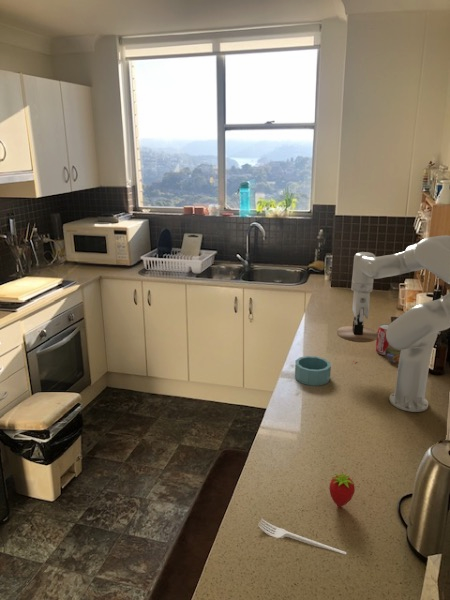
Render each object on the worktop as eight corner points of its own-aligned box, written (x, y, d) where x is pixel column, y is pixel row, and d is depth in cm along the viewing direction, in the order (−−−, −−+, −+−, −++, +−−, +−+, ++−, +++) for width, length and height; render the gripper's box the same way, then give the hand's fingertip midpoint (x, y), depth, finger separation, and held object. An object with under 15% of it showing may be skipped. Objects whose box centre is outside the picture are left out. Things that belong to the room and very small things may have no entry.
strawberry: (354, 499, 119) (358, 465, 116) (350, 520, 113) (354, 484, 110) (330, 493, 121) (333, 459, 118) (325, 513, 115) (328, 478, 112)
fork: (345, 562, 102) (346, 555, 102) (256, 532, 109) (257, 526, 109) (347, 551, 105) (348, 544, 105) (260, 522, 112) (261, 516, 112)
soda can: (393, 356, 202) (396, 330, 198) (376, 355, 203) (379, 328, 200) (391, 350, 208) (394, 324, 205) (374, 348, 210) (377, 323, 206)
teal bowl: (330, 386, 176) (332, 371, 174) (295, 384, 177) (296, 369, 175) (327, 371, 188) (328, 357, 186) (294, 369, 190) (295, 355, 188)
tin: (383, 361, 198) (386, 342, 195) (385, 358, 200) (387, 339, 198) (422, 369, 191) (425, 349, 188) (423, 366, 194) (426, 346, 191)
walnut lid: (380, 345, 174) (382, 330, 172) (338, 343, 176) (339, 327, 174) (374, 330, 188) (375, 316, 186) (335, 328, 190) (336, 314, 188)
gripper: (376, 293, 167) (370, 341, 173) (369, 280, 183) (364, 325, 189) (354, 292, 168) (349, 340, 174) (349, 279, 184) (344, 324, 189)
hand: (357, 332), depth 181 cm, fingers closed on walnut lid, 3 cm apart
